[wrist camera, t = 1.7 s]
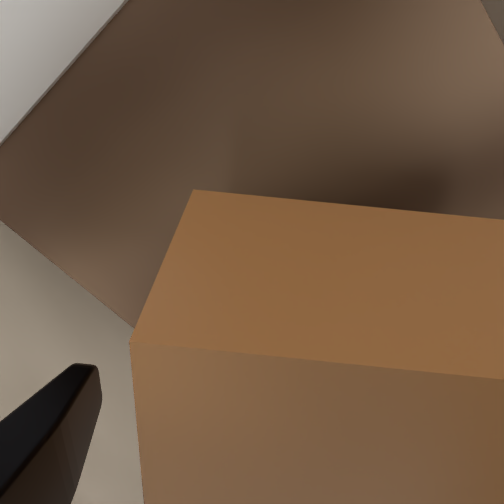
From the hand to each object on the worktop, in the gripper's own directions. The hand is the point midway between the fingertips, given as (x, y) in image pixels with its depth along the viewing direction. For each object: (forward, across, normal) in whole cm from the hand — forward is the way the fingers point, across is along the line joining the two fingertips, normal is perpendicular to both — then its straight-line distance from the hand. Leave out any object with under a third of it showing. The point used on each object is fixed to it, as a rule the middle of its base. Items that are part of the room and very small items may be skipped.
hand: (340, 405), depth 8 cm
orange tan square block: (+2, 0, 0) cm, 2 cm away
